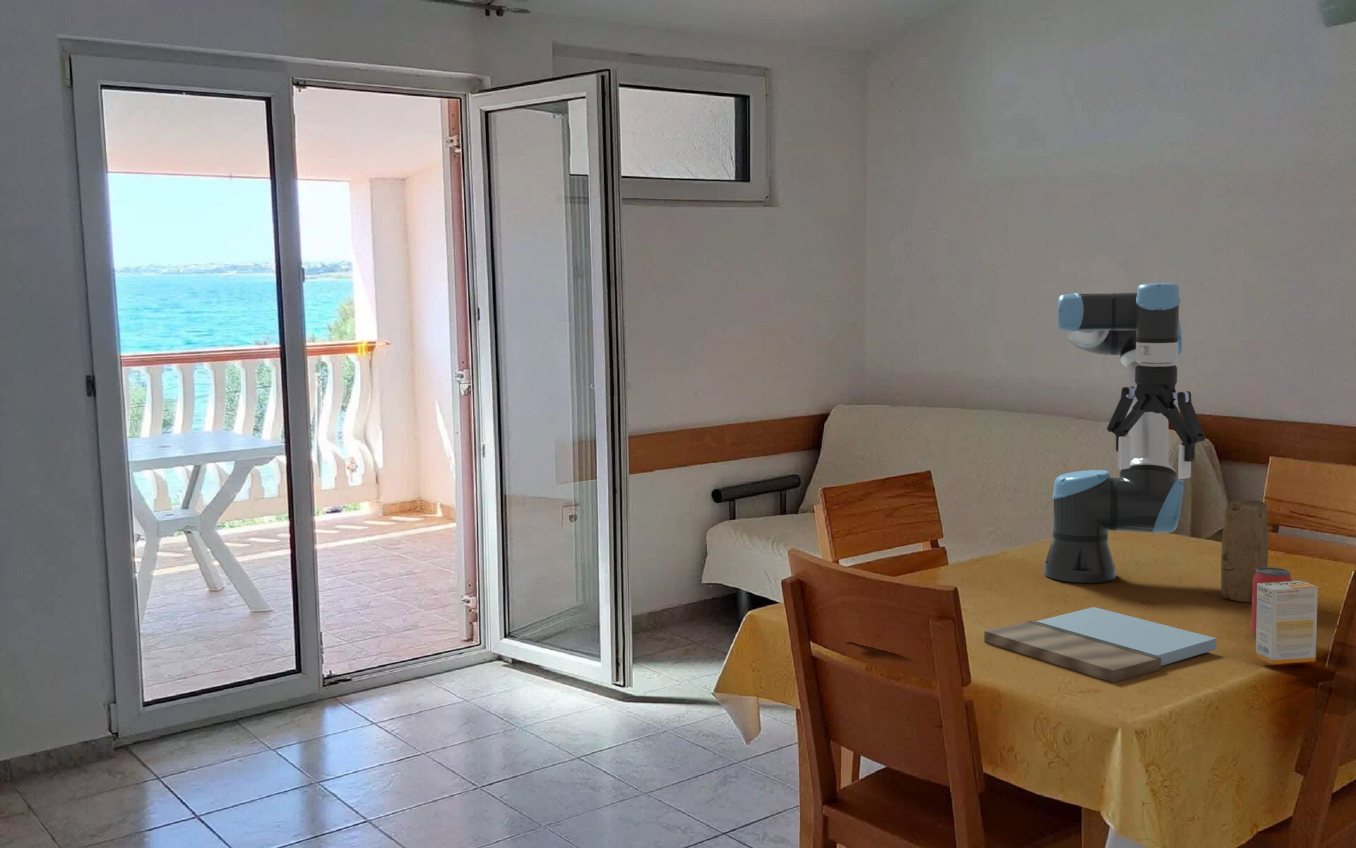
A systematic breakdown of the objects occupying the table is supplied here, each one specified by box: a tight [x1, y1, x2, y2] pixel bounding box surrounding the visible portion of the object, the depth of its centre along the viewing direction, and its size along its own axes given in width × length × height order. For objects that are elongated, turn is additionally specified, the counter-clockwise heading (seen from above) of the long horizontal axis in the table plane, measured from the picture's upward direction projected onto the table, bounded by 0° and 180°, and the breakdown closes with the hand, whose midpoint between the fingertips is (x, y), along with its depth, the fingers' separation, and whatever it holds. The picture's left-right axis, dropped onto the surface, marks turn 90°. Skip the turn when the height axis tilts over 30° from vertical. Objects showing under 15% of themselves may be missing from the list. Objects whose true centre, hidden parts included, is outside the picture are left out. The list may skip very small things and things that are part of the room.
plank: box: [1035, 606, 1217, 667], centre depth 210 cm, size 26×16×2 cm, turn 31°
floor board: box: [983, 620, 1162, 683], centre depth 203 cm, size 28×12×2 cm, turn 31°
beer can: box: [1250, 566, 1293, 636], centre depth 213 cm, size 7×7×12 cm
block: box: [1220, 499, 1269, 603], centre depth 240 cm, size 11×8×20 cm
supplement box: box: [1255, 580, 1319, 665], centre depth 198 cm, size 8×5×13 cm, turn 97°
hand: (1153, 473), depth 227 cm, fingers open, 13 cm apart
